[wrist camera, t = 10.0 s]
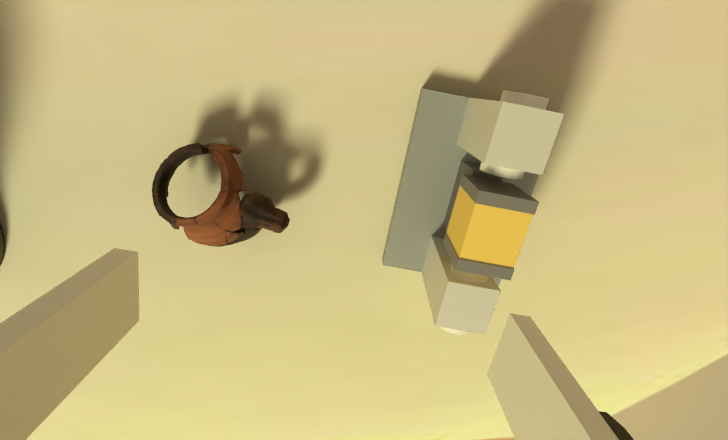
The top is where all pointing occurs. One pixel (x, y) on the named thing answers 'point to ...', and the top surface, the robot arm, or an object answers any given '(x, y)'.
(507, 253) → the box
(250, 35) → the top surface
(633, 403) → the top surface
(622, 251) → the top surface
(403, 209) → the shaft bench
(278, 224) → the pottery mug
